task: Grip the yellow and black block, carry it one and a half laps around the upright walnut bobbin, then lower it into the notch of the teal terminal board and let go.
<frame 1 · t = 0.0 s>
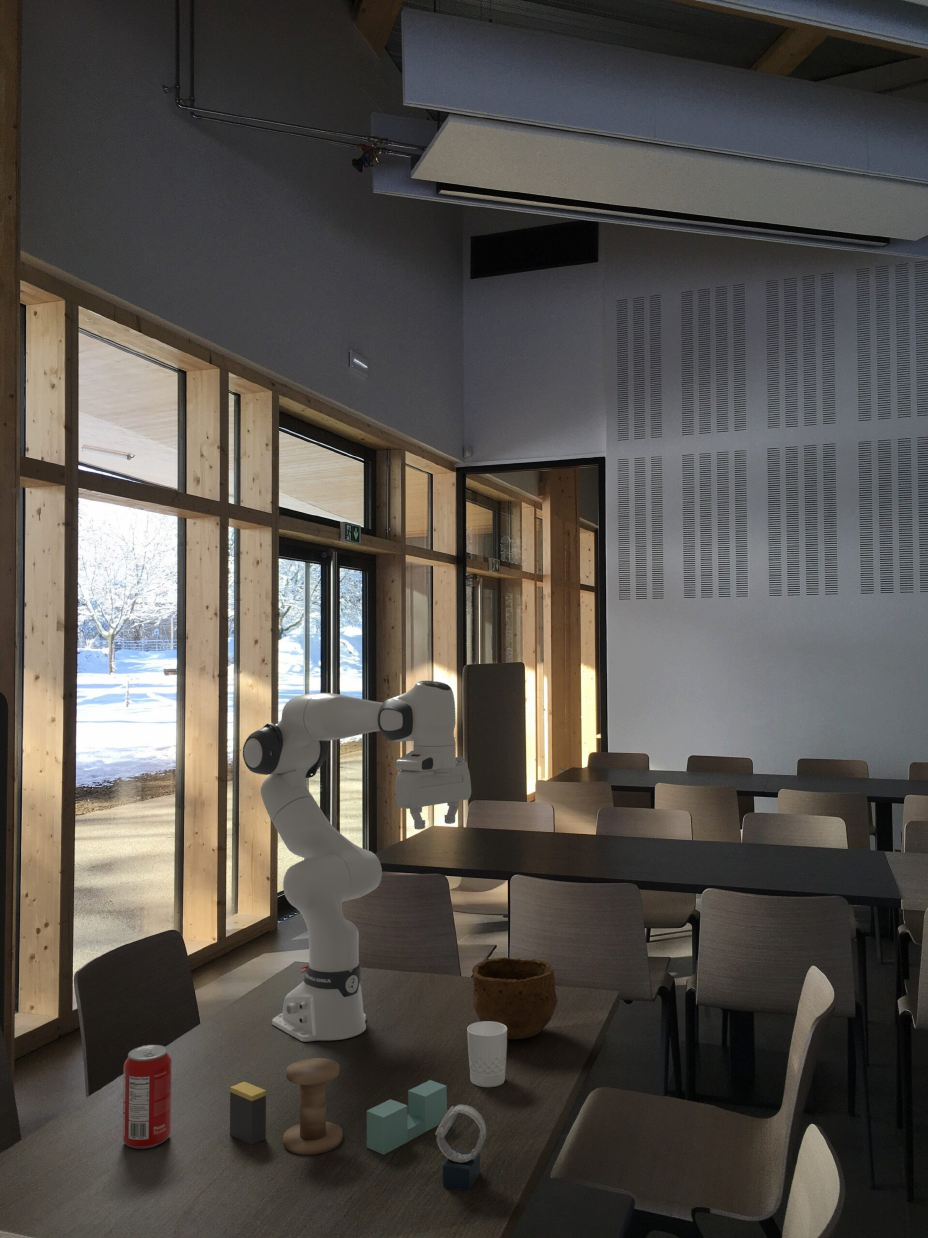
hand: (435, 826, 201), 48 cm above the table, fingers open, 8 cm apart
yellow and black block: (247, 1136, 168), on the table
soda can: (146, 1142, 166), on the table
bobbin: (312, 1140, 166), on the table
white cup: (487, 1081, 190), on the table
bowl: (514, 1037, 213), on the table
notch board: (408, 1133, 168), on the table
watch: (461, 1181, 152), on the table
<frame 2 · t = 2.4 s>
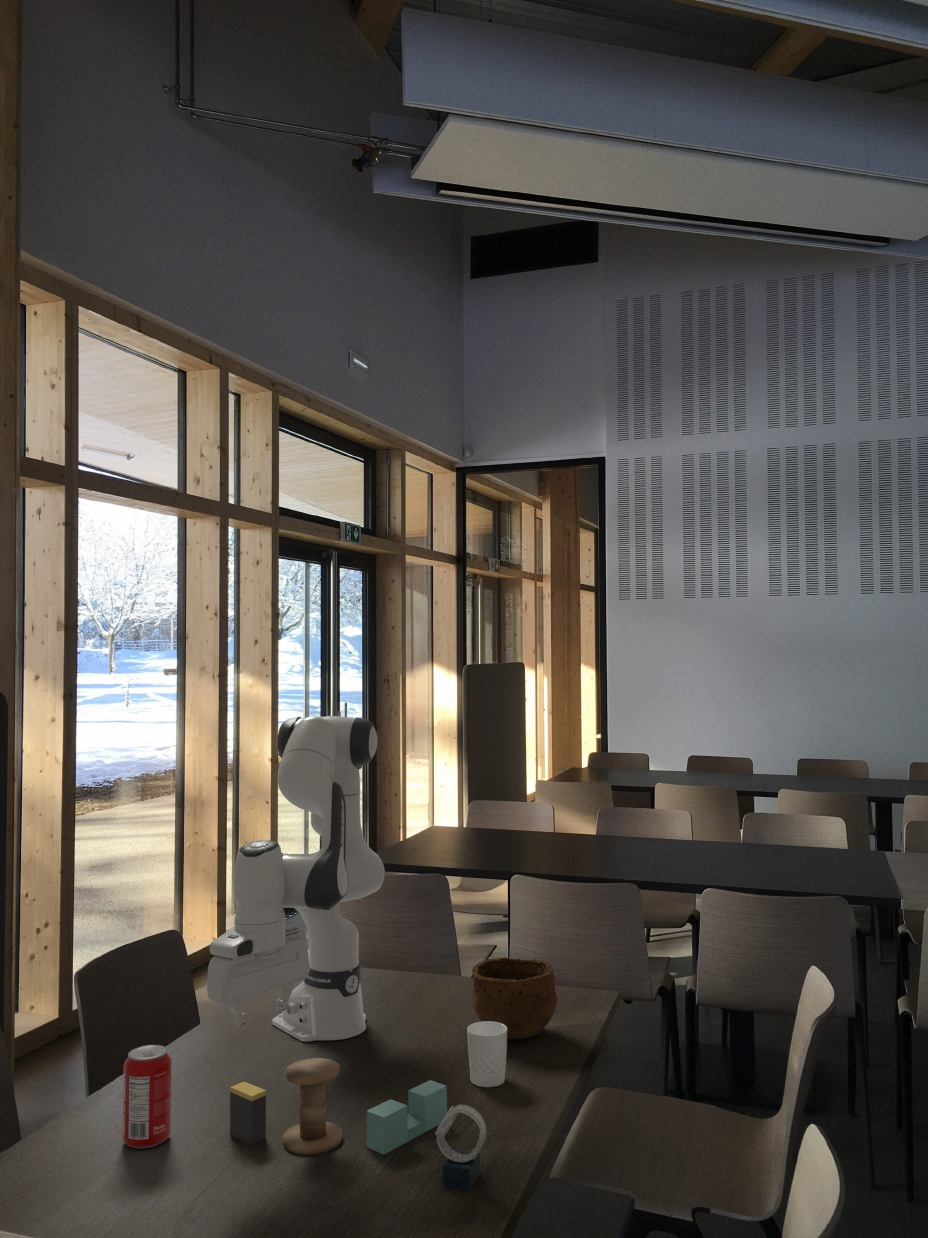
hand: (261, 1017, 170), 20 cm above the table, fingers open, 8 cm apart
nothing on the table moved.
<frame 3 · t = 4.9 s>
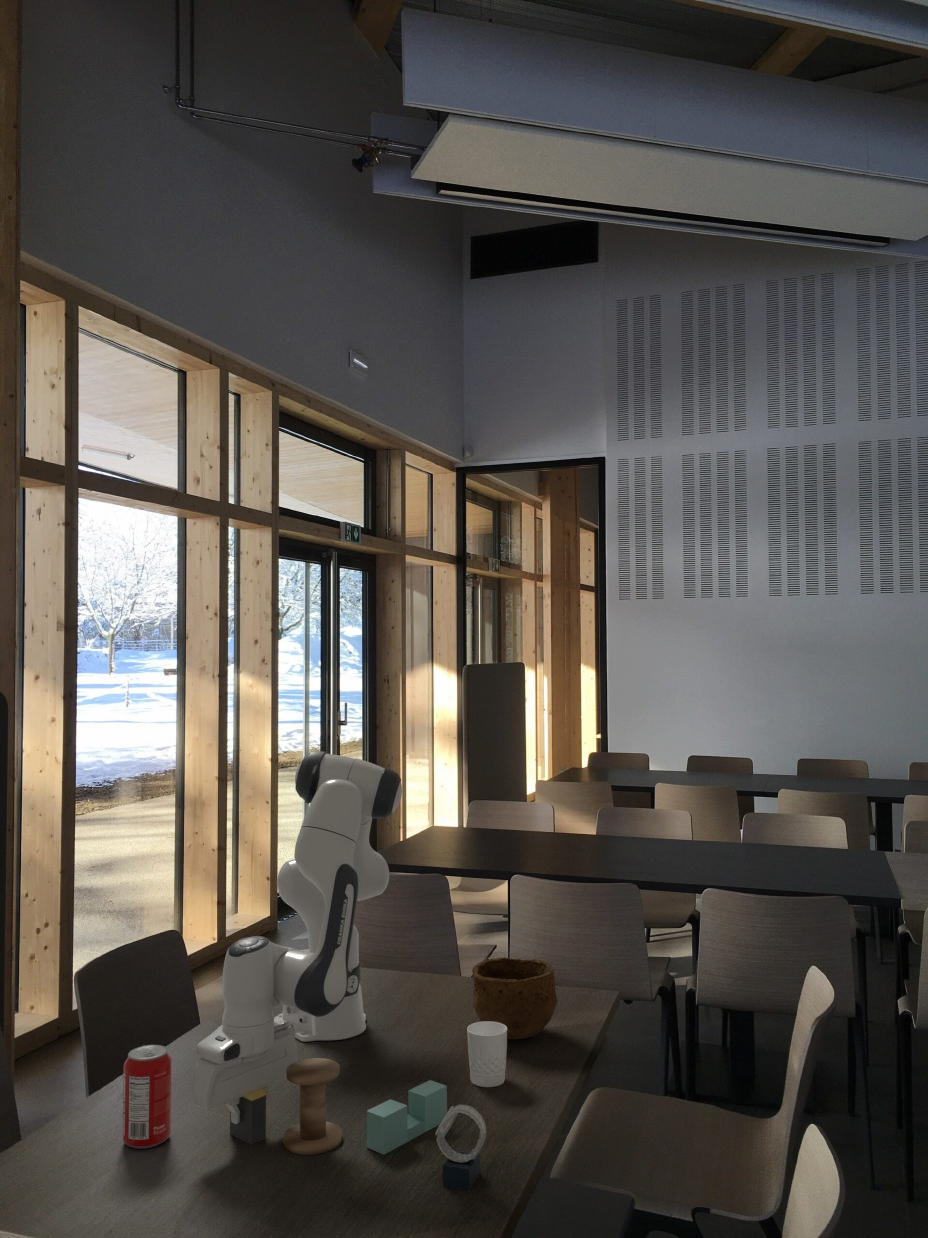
hand: (247, 1117, 168), 3 cm above the table, fingers closed on yellow and black block, 3 cm apart
yellow and black block: (247, 1136, 168), on the table, touching gripper
everything else where it was.
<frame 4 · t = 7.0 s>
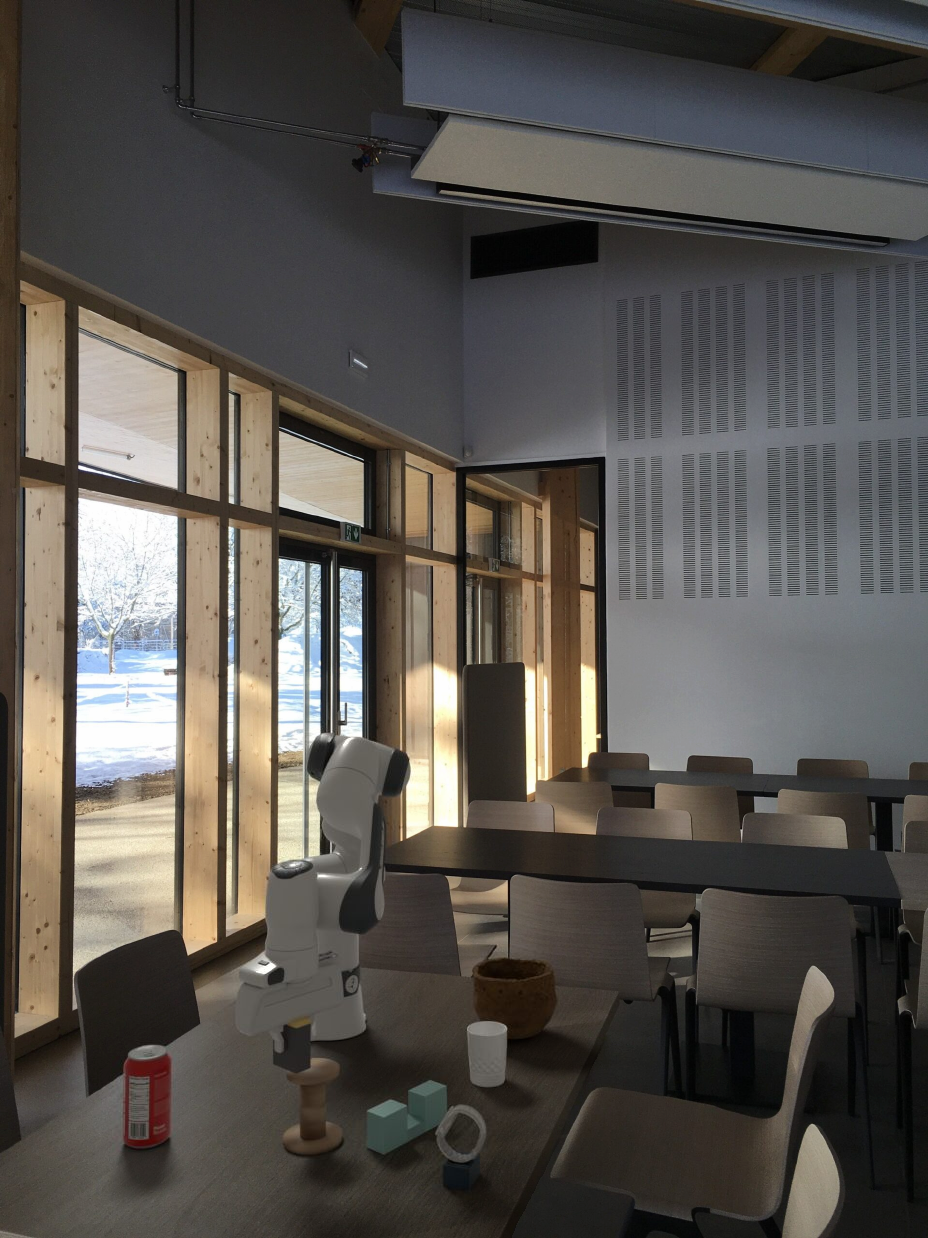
hand: (291, 1047, 160), 18 cm above the table, fingers closed on yellow and black block, 3 cm apart
yellow and black block: (291, 1066, 160), point 15 cm above the table, touching gripper
everything else where it was.
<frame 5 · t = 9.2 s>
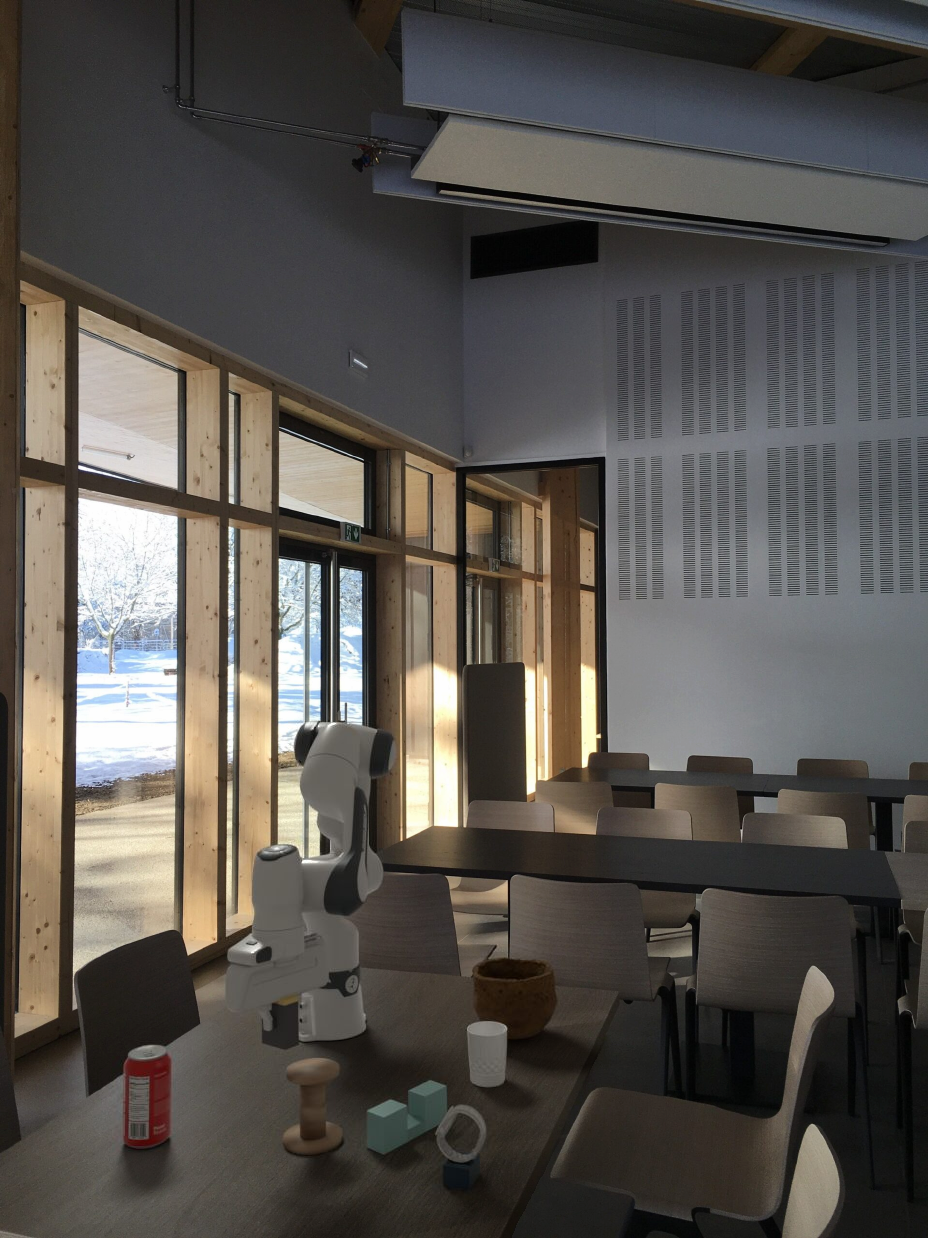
hand: (280, 1026, 165), 20 cm above the table, fingers closed on yellow and black block, 3 cm apart
yellow and black block: (280, 1044, 165), point 17 cm above the table, touching gripper
everything else where it was.
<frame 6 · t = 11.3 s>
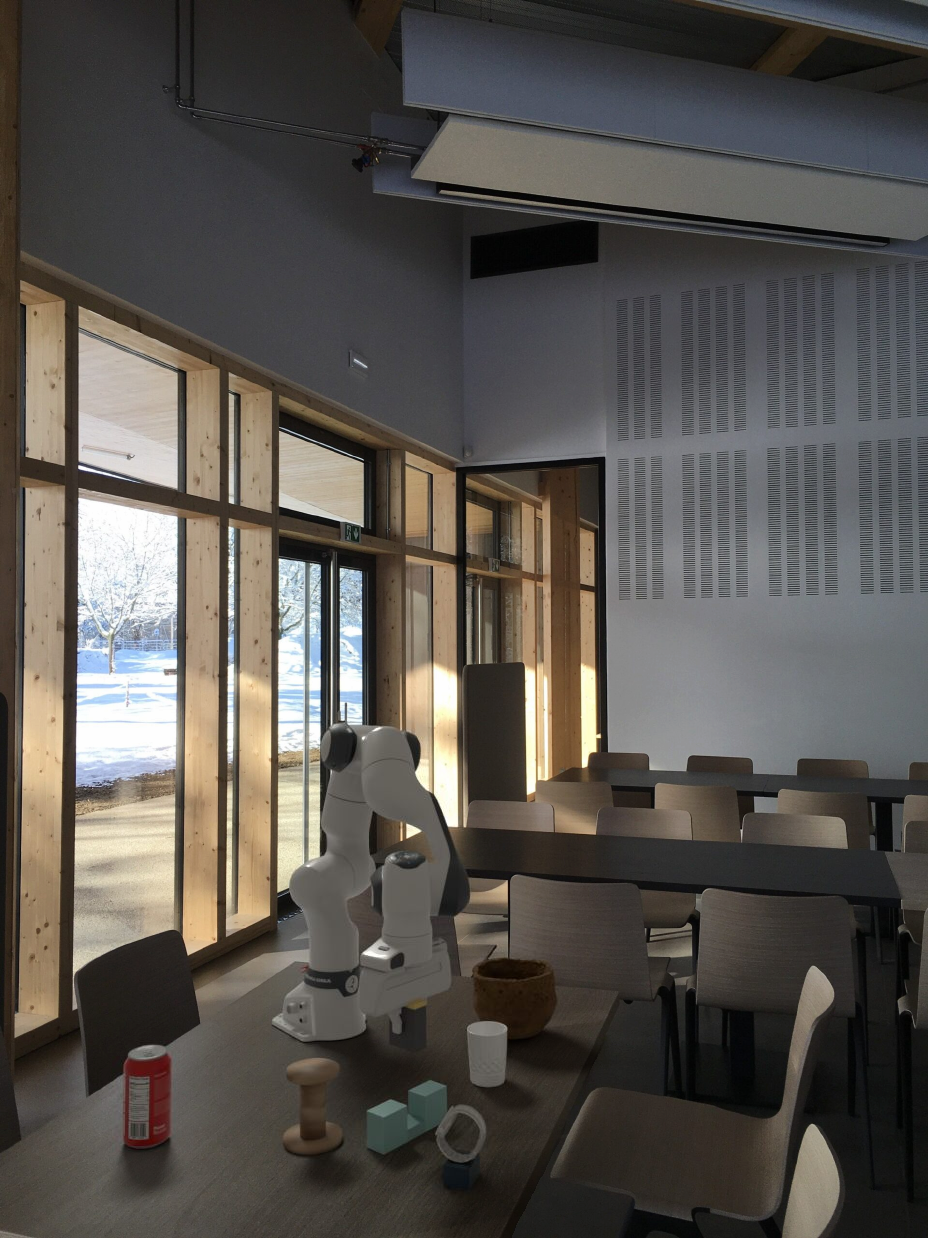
hand: (407, 1028, 169), 18 cm above the table, fingers closed on yellow and black block, 3 cm apart
yellow and black block: (407, 1046, 169), point 15 cm above the table, touching gripper
everything else where it was.
when the fingers open (7 cm above the table, at t = 13.5 s): yellow and black block drops 2 cm, resting on notch board.
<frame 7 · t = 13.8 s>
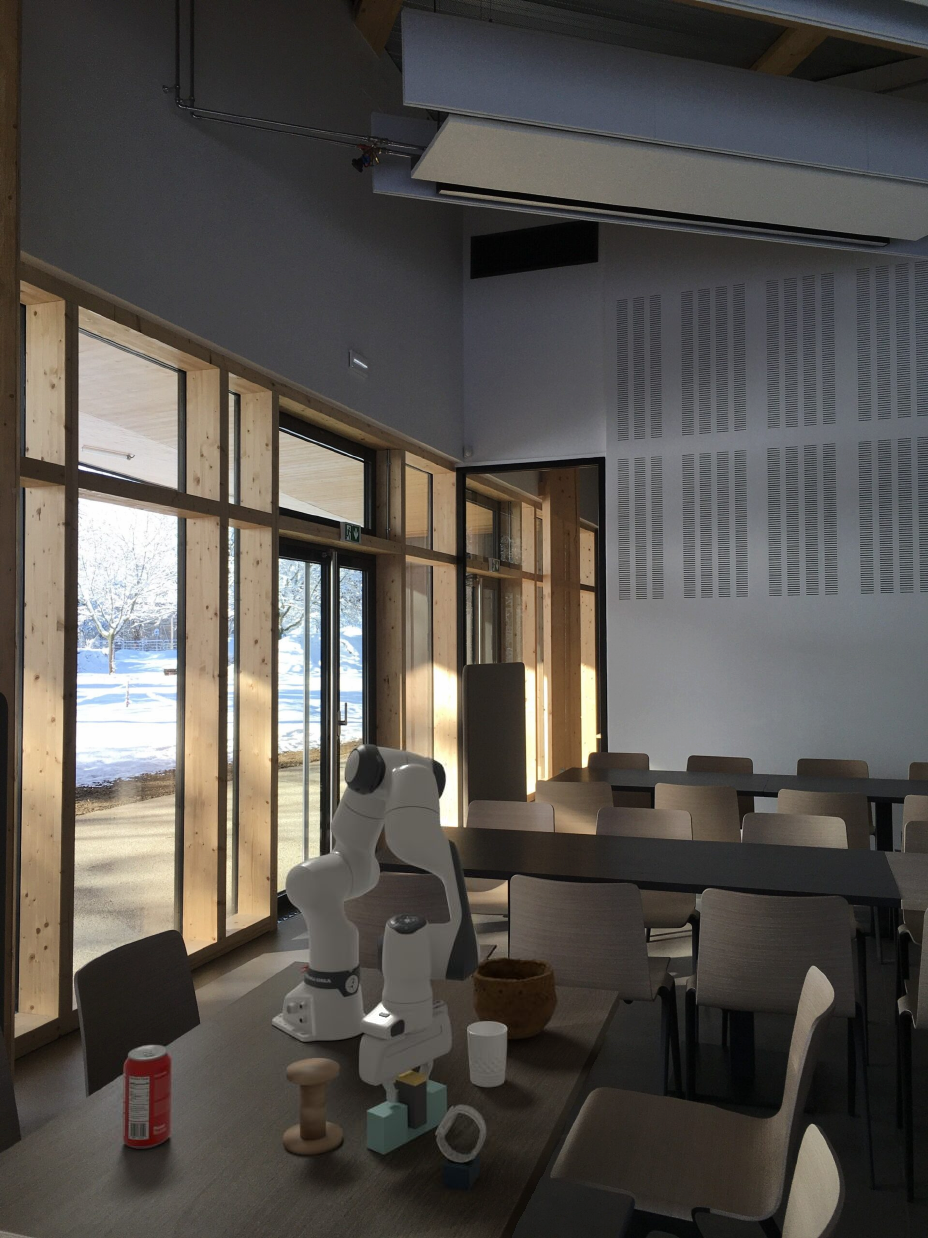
hand: (407, 1094, 168), 7 cm above the table, fingers open, 6 cm apart
yellow and black block: (408, 1121, 168), point 2 cm above the table, touching notch board
everything else where it was.
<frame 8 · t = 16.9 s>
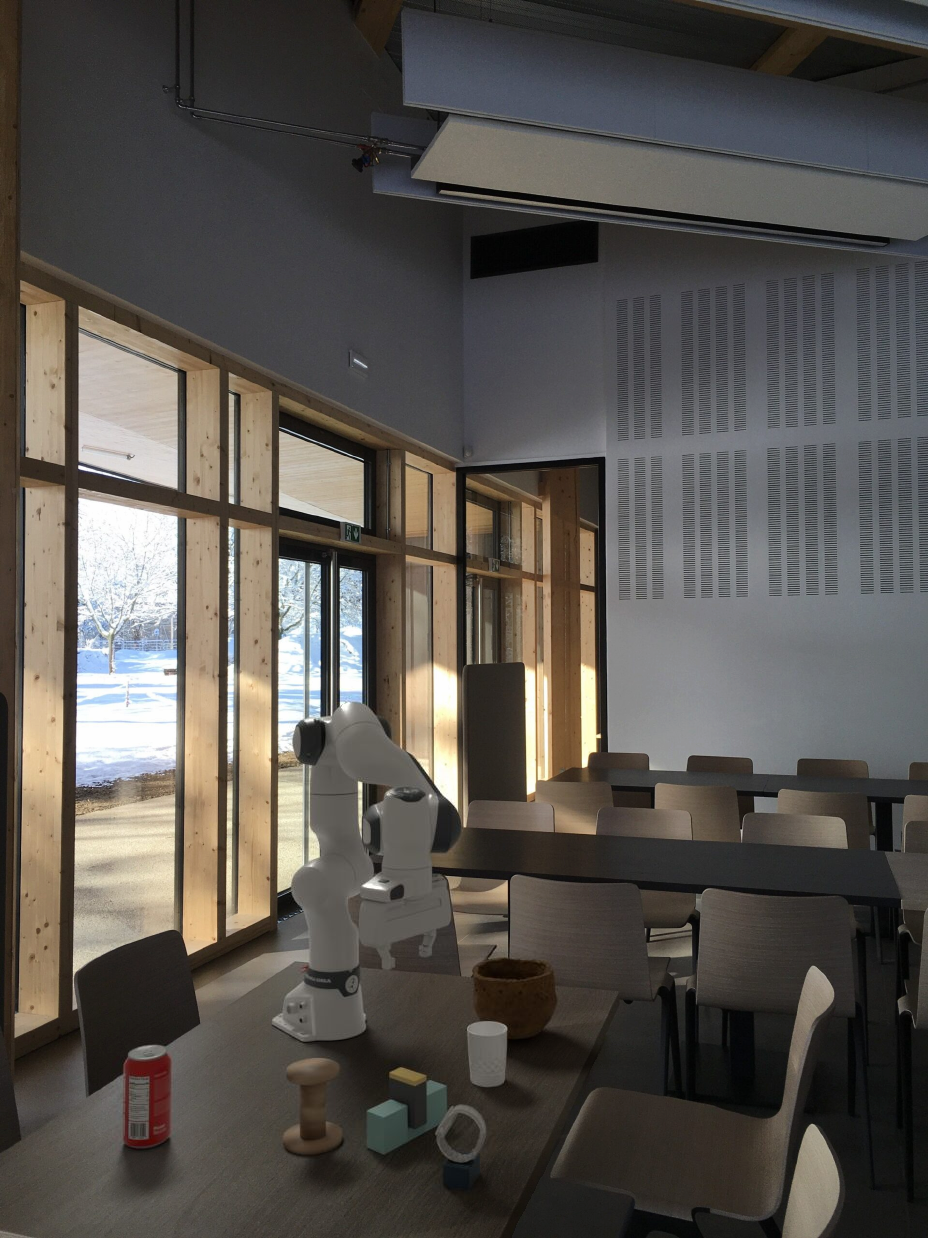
hand: (407, 962, 170), 29 cm above the table, fingers open, 8 cm apart
nothing on the table moved.
at the end: yellow and black block 0.1 cm off-centre on the notch board, point 2.0 cm above the notch board's base; yellow and black block tilted 0°; the gripper is holding nothing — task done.
